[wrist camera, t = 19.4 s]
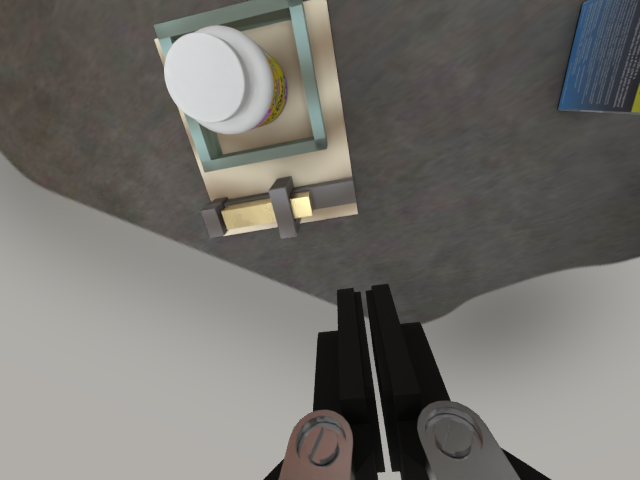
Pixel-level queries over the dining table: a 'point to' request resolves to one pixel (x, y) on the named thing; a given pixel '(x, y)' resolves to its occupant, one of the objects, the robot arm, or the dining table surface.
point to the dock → (283, 133)
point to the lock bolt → (264, 211)
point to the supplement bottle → (225, 80)
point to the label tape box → (605, 59)
